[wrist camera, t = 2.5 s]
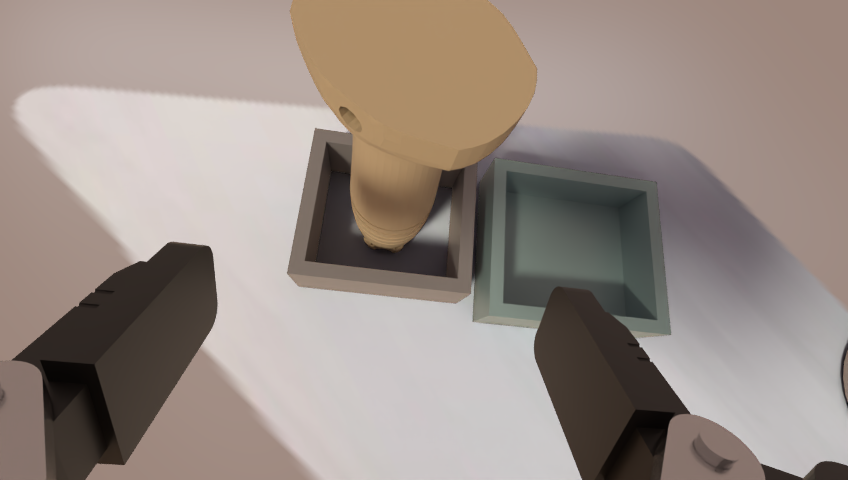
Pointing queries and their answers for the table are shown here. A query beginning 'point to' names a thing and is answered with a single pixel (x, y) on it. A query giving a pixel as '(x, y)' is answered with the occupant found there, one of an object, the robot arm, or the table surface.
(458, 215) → the open rectangular frame
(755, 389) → the table surface
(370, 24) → the handle
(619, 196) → the parts tray
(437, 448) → the table surface
